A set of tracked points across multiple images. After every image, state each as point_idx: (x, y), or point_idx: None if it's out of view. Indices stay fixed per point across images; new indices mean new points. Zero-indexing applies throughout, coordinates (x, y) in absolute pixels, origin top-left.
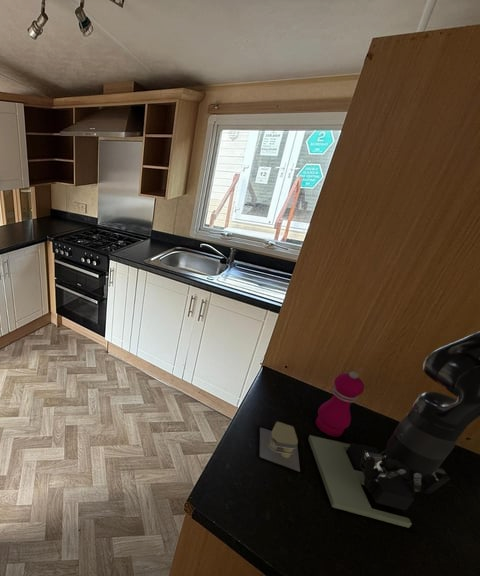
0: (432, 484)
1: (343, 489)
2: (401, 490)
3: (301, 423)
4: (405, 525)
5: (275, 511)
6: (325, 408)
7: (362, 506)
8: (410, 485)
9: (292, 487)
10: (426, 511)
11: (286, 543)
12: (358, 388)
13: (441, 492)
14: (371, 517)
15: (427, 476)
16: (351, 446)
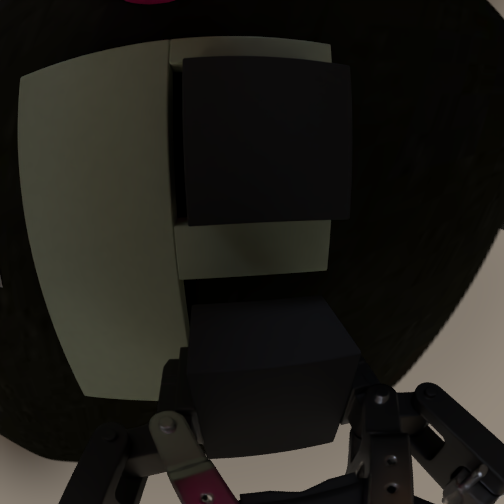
0: (428, 470)
1: (109, 348)
2: (302, 432)
3: (46, 3)
4: None
5: (3, 399)
6: None
7: None
8: (356, 426)
9: (3, 345)
10: (396, 294)
11: (37, 439)
12: None
13: (472, 200)
14: None
15: (449, 448)
16: (183, 81)
